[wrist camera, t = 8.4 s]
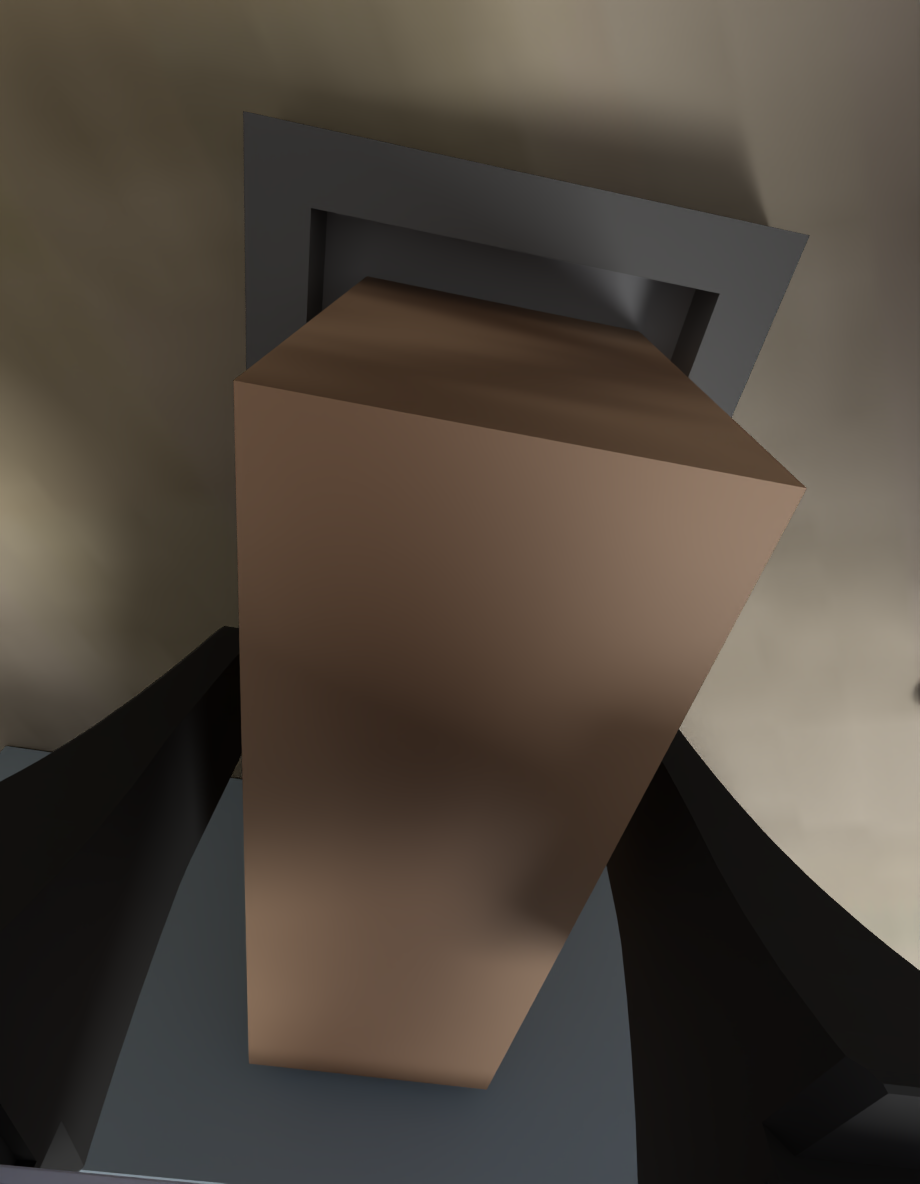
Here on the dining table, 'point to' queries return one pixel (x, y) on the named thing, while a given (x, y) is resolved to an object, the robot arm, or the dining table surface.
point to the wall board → (216, 870)
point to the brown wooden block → (462, 654)
